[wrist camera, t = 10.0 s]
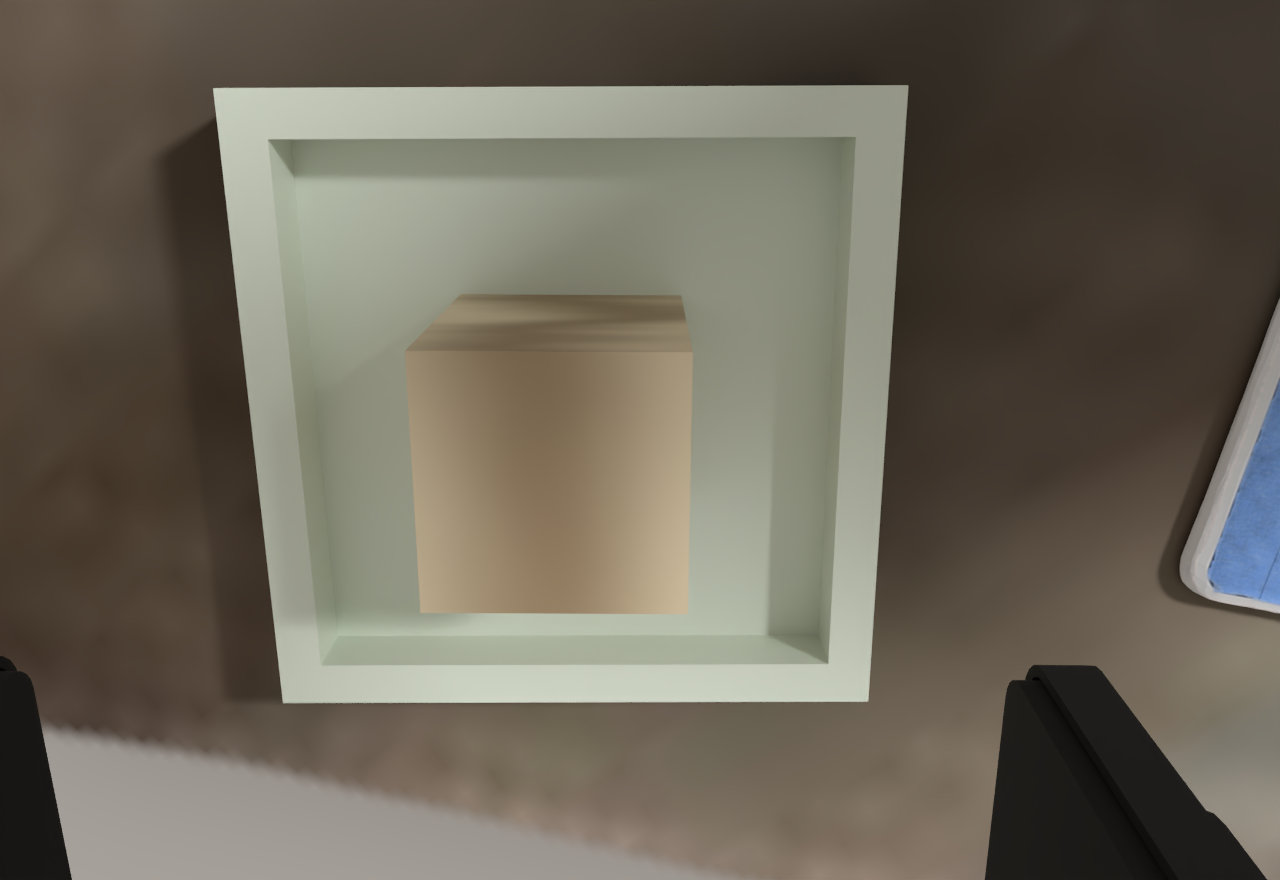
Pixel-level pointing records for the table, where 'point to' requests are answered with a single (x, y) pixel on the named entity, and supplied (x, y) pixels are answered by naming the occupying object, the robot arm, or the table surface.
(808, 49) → the table surface
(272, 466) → the tray
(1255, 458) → the tablet computer
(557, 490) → the beech block
